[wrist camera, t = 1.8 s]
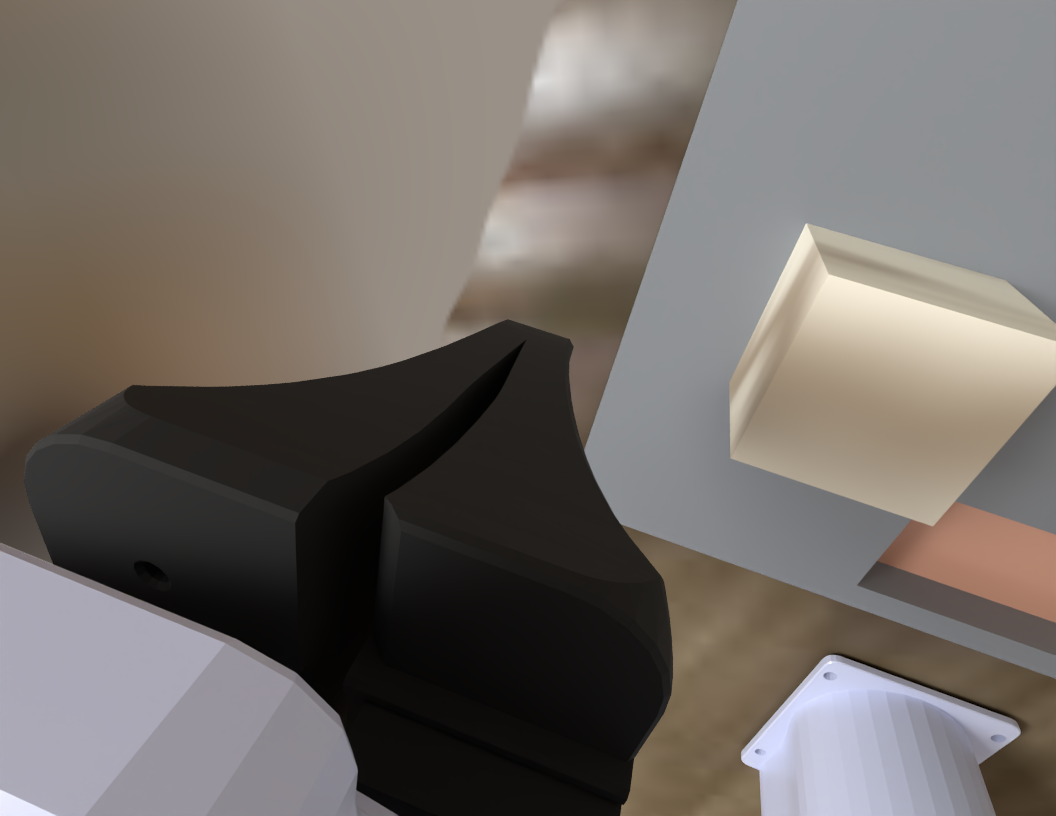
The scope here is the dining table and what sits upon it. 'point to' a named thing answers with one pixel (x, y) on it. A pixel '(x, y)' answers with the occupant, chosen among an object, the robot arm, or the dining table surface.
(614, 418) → the board
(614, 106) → the dining table surface
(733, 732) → the dining table surface
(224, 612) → the robot arm
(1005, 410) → the cream block
